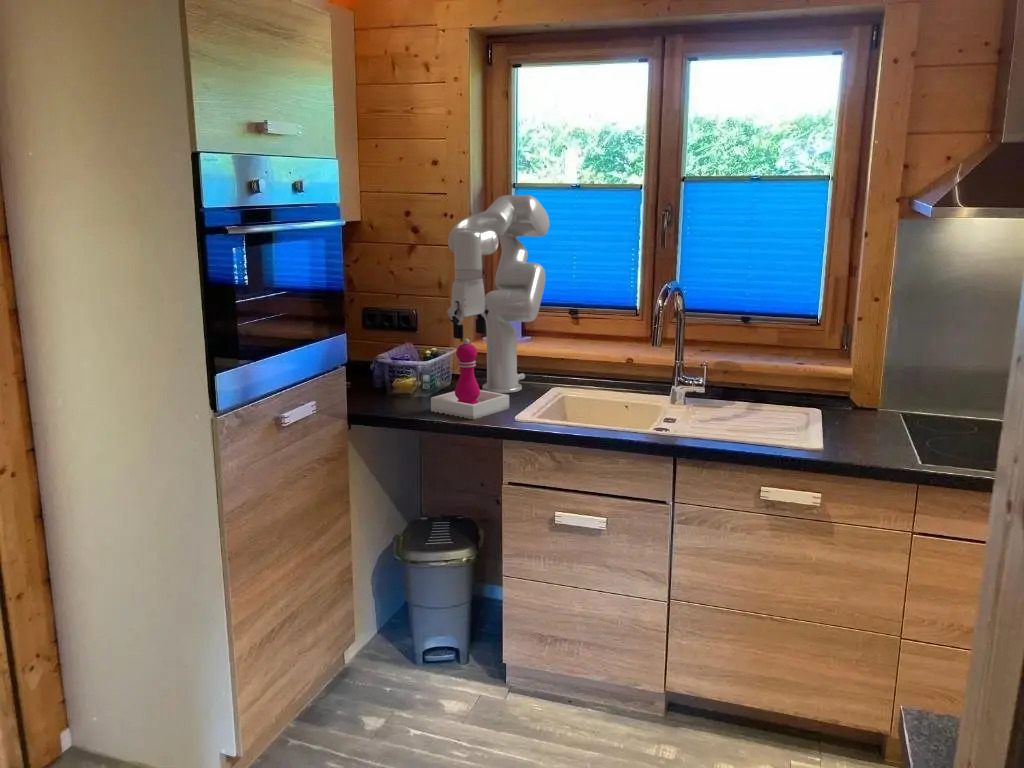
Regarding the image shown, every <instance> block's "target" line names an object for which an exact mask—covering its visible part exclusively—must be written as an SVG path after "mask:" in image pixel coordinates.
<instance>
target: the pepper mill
mask: <svg viewBox="0 0 1024 768" xmlns="http://www.w3.org/2000/svg"><path fill="white" fill-rule="evenodd" d="M455 353H456V354H455V355H456V357H457V359H458V361H457V362H458V363H457V364H458V365H457V366H458V367H459V379H458V380H457V383H456V386H455V389H454V391H455V395H456V397H457V398H458V399H459V400H458V401H457V402H463V403H468V404H476V403H478V400H476V399H477V398H478V396H479V395H480V390H481V389H480V385H479V383H478V381H477V379H476V375H475V367H476V365H477V364H476V360H475V359H476V358H477V357H478V349H477V348H476V346H475V345H474V344H471V343H470V339H469V338H463V344H461V345H459V346H458V347H457V349H456V352H455Z"/></svg>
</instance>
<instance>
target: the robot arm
mask: <svg viewBox="0 0 1024 768" xmlns="http://www.w3.org/2000/svg"><path fill="white" fill-rule="evenodd" d="M549 228H550V218H549V214H548V213H547V211H546V209H545V207H543V205H542V204H541V202H540V201H539V200H538V199H537V198H536V197H534V196H533V195H529V194H523V195H522V194H521V195H520V194H519V195H518V194H507V195H506V194H505V195H501V196H499V197H497V198H496V199H495V200H494V201H493V202H492V203H491V204H490V205H489V207H488V208H487V209H486V210H485V211H482V212H479V213H475V214H473V215H470V216H468V217H465V218H463V219H461V220H459V222H457V223H456V224H455V225H454V226H453V228H452V229H451V230H450V233H449V234H448V237H447V238H448V239H447V245H448V248H449V250H450V251H451V252H452V253H453V254H454V280H453V282H452V287H451V299H450V302H451V304H450V307H449V308H448V309H446V314H447V316H448V319H449V321H450V322H451V325H452V326H453V327H452V329H453V332H452V333H453V339H458V340H464V325H463V322H464V319H465V318H469V317H476V318H475V332H476V333H477V334H483V335H484V334H485V335H486V382H485V383H484V384H482V386H481V387H482V388H481V390H483V391H489V392H495V393H500V394H510V393H517V392H520V391H522V390H523V388H522V384H521V383H519V381H520V380H524V379H525V378H526V375H525V373H523V372H522V373H518V358H517V357H518V347H517V346H518V341H517V339H518V337H517V332H516V330H515V328H514V326H513V325H512V324H511V322H518V323H520V322H522V323H527V322H529V323H531V322H534V321H535V320H536V319H537V317H538V314H539V311H540V308H541V303H542V299H543V295H544V290H545V285H546V272H545V268H544V267H543V266H542V265H541V264H540V263H536V262H527V261H528V256H529V255H528V254H529V253H528V250H527V248H526V247H525V245H524V244H523V243H522V242H521V241H520V240H519V238H518V237H520V238H521V237H529V238H530V237H535V238H536V237H537V238H540V237H544V236H545V235H547V234H548V231H549ZM499 243H500V248H501V255H500V258H499V260H498V261H499V262H498V266H497V270H496V272H495V273H496V274H495V278H494V284H495V287H496V289H495V290H491V291H488V293H486V294H485V286H484V281H483V280H484V279H483V271H482V270H483V269H482V268H483V267H482V263H483V261H482V256H488V255H489V256H490V255H492V254H494V253H495V252H496V251H497V249H498V247H499Z"/></svg>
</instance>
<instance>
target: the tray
mask: <svg viewBox="0 0 1024 768" xmlns="http://www.w3.org/2000/svg"><path fill="white" fill-rule="evenodd" d="M458 400H459V399H458V398H457V397H456V395H455V390H453V391H450V392H447V393H443V394H439V395H436V396H432V397H430V411H431V412H433V411H434V413H437V412H439V414H442V413H445V414H444V415H447V414H450V415H449V416H452V415H454V416H453V417H457V416H459V417H458V418H462V417H464V418H463V419H466V418H468V419H467V420H471V419H473V420H472V421H474V419H475V420H478V419H480V418H484V417H487V416H490V414H491V415H493V414H496V413H499V412H503V411H506V410H509V409H510V395H509V394H507V393H495V392H489V391H484V390H483V389H480V395H479V396H478V398H477V399H476V400H478V403H476V404H468V403H463V402H457V401H458ZM483 416H484V417H483ZM477 418H478V419H477Z"/></svg>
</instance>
